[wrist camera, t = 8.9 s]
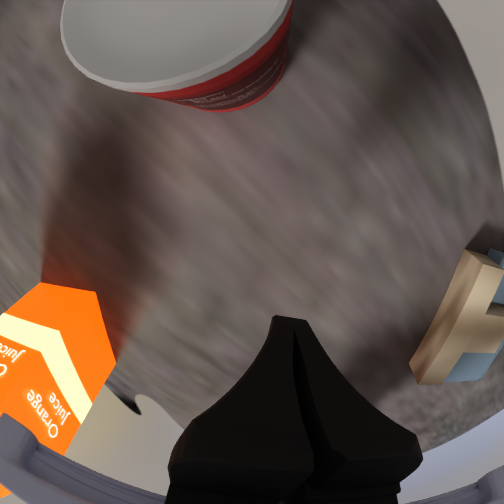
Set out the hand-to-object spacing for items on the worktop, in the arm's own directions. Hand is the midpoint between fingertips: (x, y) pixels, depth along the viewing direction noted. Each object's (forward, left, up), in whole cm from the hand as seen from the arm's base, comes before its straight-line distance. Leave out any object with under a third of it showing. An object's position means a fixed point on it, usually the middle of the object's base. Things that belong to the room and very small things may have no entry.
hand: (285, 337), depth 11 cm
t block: (-3, -19, -9) cm, 21 cm away
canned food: (+12, +6, -10) cm, 16 cm away
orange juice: (-12, +18, -10) cm, 24 cm away
